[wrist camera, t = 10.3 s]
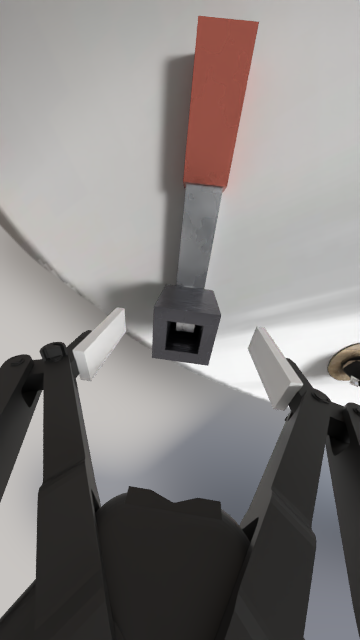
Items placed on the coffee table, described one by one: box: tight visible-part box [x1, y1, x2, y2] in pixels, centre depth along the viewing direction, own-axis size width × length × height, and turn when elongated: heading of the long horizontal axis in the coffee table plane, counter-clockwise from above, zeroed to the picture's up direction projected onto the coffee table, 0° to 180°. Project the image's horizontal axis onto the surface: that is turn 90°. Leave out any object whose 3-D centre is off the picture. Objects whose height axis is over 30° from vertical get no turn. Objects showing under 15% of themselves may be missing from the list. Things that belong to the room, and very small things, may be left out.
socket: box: [152, 284, 221, 365], centre depth 19 cm, size 6×6×7 cm
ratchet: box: [176, 16, 259, 332], centre depth 16 cm, size 25×6×7 cm, turn 174°
